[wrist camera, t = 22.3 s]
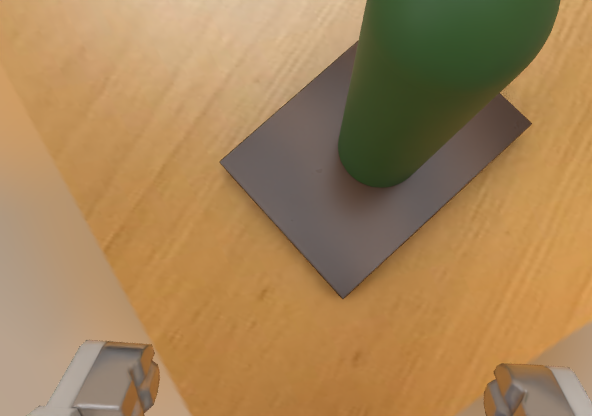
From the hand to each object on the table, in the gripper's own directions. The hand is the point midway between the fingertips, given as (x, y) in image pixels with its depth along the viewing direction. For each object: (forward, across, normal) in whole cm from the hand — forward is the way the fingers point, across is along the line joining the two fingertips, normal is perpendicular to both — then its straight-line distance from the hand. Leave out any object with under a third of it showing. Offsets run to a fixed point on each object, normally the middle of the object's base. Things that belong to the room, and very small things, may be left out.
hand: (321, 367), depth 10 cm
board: (+16, -3, +2) cm, 16 cm away
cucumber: (+15, -3, +1) cm, 15 cm away
